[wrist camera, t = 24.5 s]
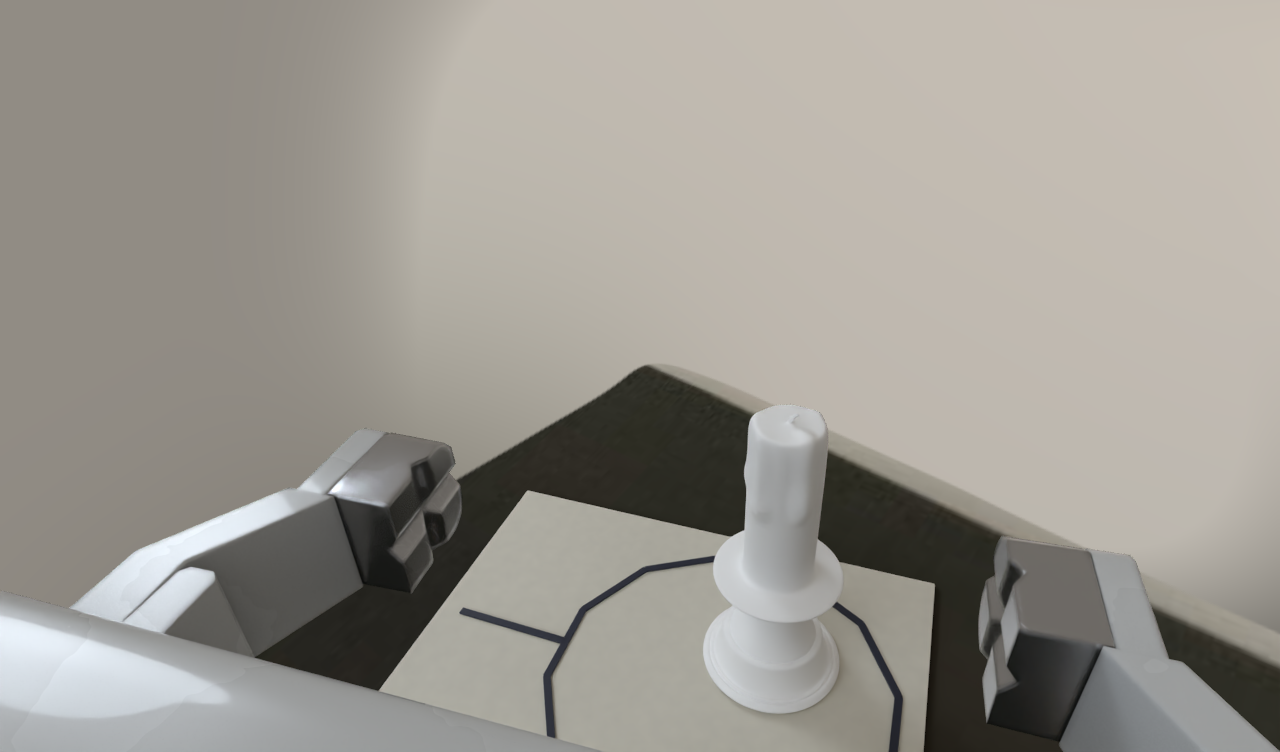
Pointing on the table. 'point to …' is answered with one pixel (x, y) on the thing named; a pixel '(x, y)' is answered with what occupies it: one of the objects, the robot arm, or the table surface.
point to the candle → (778, 573)
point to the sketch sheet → (652, 643)
